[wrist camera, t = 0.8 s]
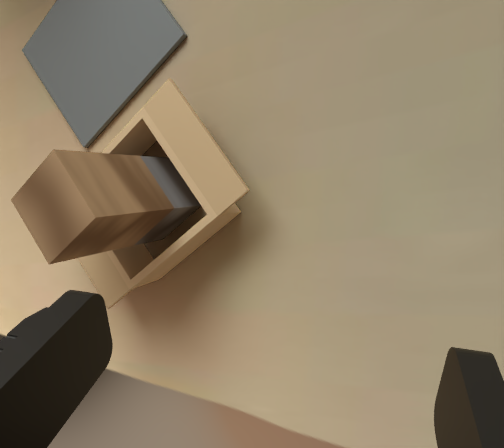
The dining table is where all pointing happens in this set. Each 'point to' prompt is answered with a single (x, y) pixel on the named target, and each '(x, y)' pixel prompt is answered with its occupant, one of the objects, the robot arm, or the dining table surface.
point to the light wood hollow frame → (194, 174)
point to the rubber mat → (100, 56)
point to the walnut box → (101, 202)
